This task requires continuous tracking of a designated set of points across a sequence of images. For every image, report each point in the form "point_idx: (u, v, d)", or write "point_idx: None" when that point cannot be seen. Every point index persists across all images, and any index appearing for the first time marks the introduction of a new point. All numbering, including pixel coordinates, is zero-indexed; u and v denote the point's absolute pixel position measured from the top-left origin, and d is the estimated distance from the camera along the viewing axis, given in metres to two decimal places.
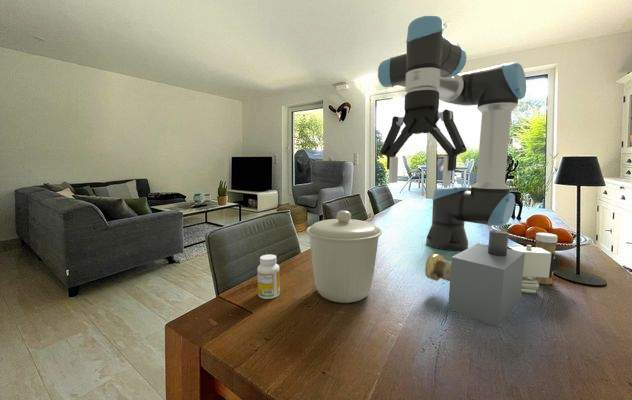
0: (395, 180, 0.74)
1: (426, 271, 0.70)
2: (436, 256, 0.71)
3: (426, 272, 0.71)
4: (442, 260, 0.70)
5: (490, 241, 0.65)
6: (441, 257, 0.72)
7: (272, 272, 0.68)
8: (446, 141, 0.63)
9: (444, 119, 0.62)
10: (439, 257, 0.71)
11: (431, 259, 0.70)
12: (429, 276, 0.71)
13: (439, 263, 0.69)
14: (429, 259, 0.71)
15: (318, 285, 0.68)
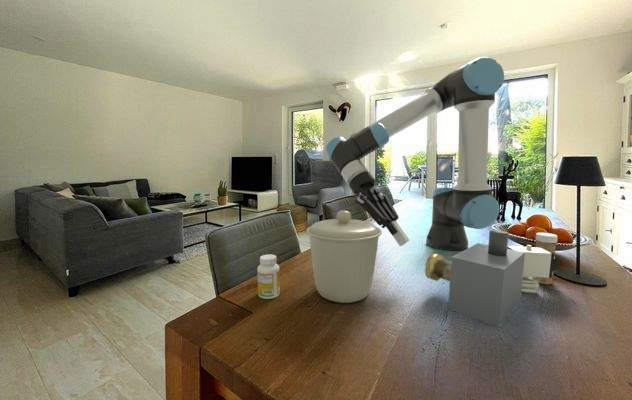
0: None
1: (426, 271, 0.70)
2: (436, 256, 0.71)
3: (426, 272, 0.71)
4: (442, 260, 0.70)
5: (490, 241, 0.65)
6: (441, 257, 0.72)
7: (271, 272, 0.68)
8: None
9: None
10: (439, 257, 0.71)
11: (431, 259, 0.70)
12: (429, 276, 0.71)
13: (439, 263, 0.69)
14: (429, 259, 0.71)
15: (318, 285, 0.68)
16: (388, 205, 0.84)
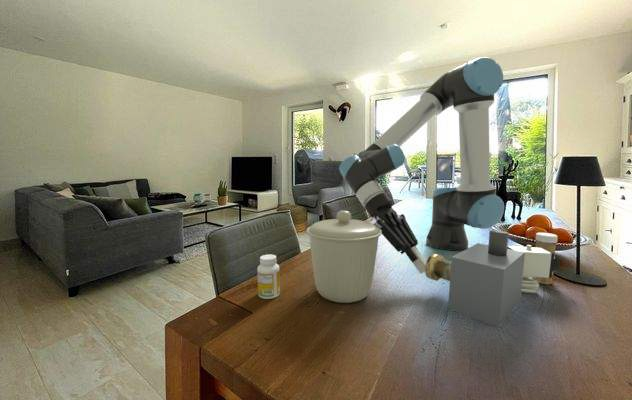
0: None
1: (426, 271, 0.70)
2: (436, 256, 0.71)
3: (426, 272, 0.71)
4: (442, 260, 0.70)
5: (490, 241, 0.65)
6: (441, 257, 0.72)
7: (271, 272, 0.68)
8: None
9: None
10: (439, 257, 0.71)
11: (431, 259, 0.70)
12: (429, 276, 0.71)
13: (439, 263, 0.69)
14: (429, 259, 0.71)
15: (318, 285, 0.68)
16: (406, 228, 0.81)
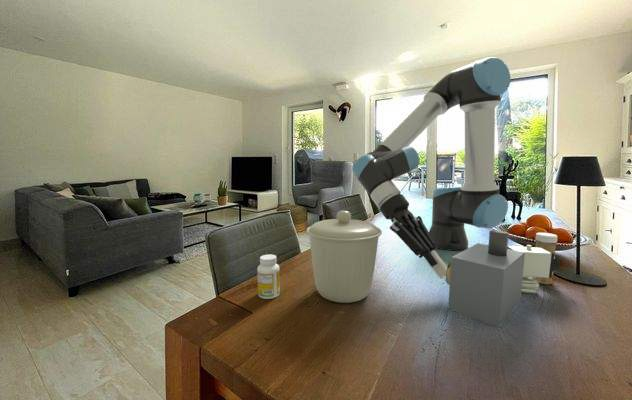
0: None
1: (447, 277, 0.67)
2: None
3: (447, 278, 0.67)
4: None
5: (490, 241, 0.65)
6: None
7: (271, 272, 0.68)
8: None
9: None
10: None
11: None
12: None
13: None
14: (450, 264, 0.67)
15: (318, 285, 0.68)
16: (424, 231, 0.77)
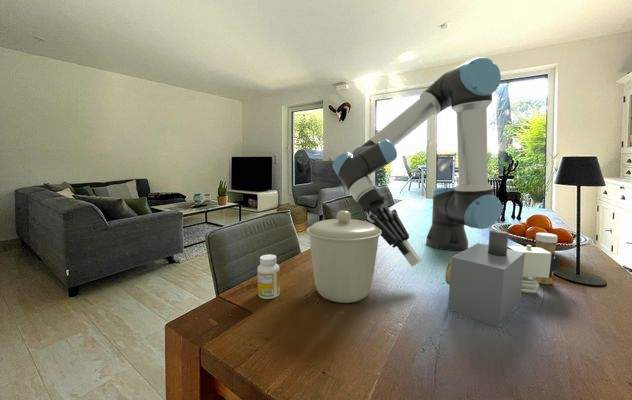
0: None
1: (447, 277, 0.67)
2: None
3: (447, 278, 0.67)
4: None
5: (490, 241, 0.65)
6: None
7: (271, 272, 0.68)
8: None
9: None
10: None
11: None
12: None
13: None
14: (450, 264, 0.67)
15: (318, 285, 0.68)
16: (398, 223, 0.83)
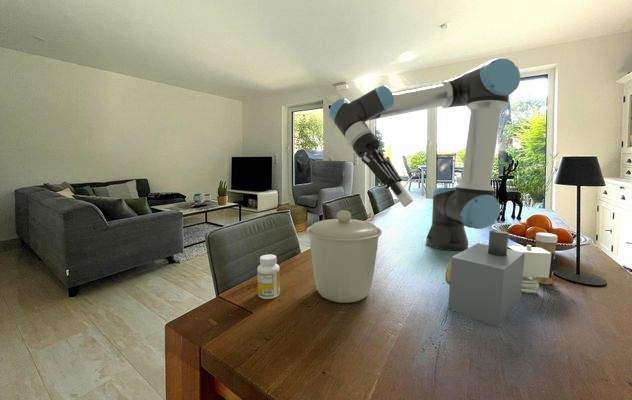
0: None
1: (447, 277, 0.67)
2: None
3: (447, 278, 0.67)
4: None
5: (490, 241, 0.65)
6: None
7: (271, 272, 0.68)
8: None
9: None
10: None
11: None
12: None
13: None
14: (450, 264, 0.67)
15: (318, 285, 0.68)
16: (391, 168, 0.84)
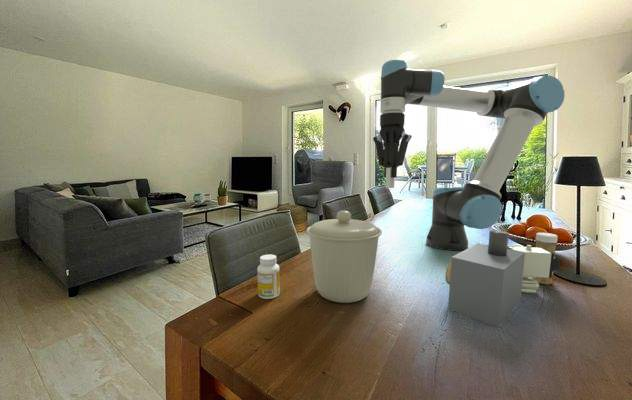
0: None
1: (447, 277, 0.67)
2: None
3: (447, 278, 0.67)
4: None
5: (490, 241, 0.65)
6: None
7: (271, 272, 0.68)
8: (395, 156, 0.91)
9: (402, 139, 0.87)
10: None
11: None
12: None
13: None
14: (450, 264, 0.67)
15: (318, 285, 0.68)
16: (383, 150, 0.95)
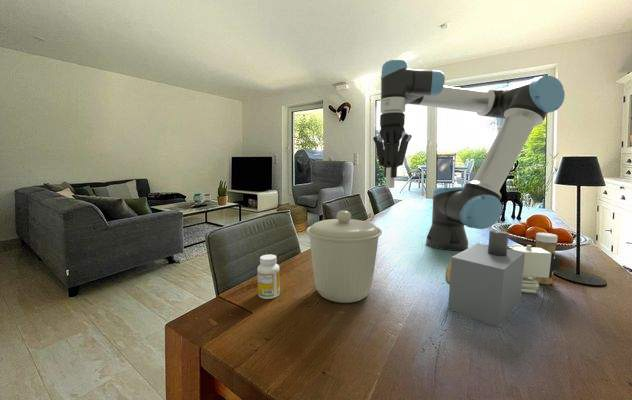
0: None
1: (447, 277, 0.67)
2: None
3: (447, 278, 0.67)
4: None
5: (490, 241, 0.65)
6: None
7: (272, 272, 0.68)
8: (395, 156, 0.91)
9: (402, 139, 0.87)
10: None
11: None
12: None
13: None
14: (450, 264, 0.67)
15: (318, 285, 0.68)
16: (383, 150, 0.95)
